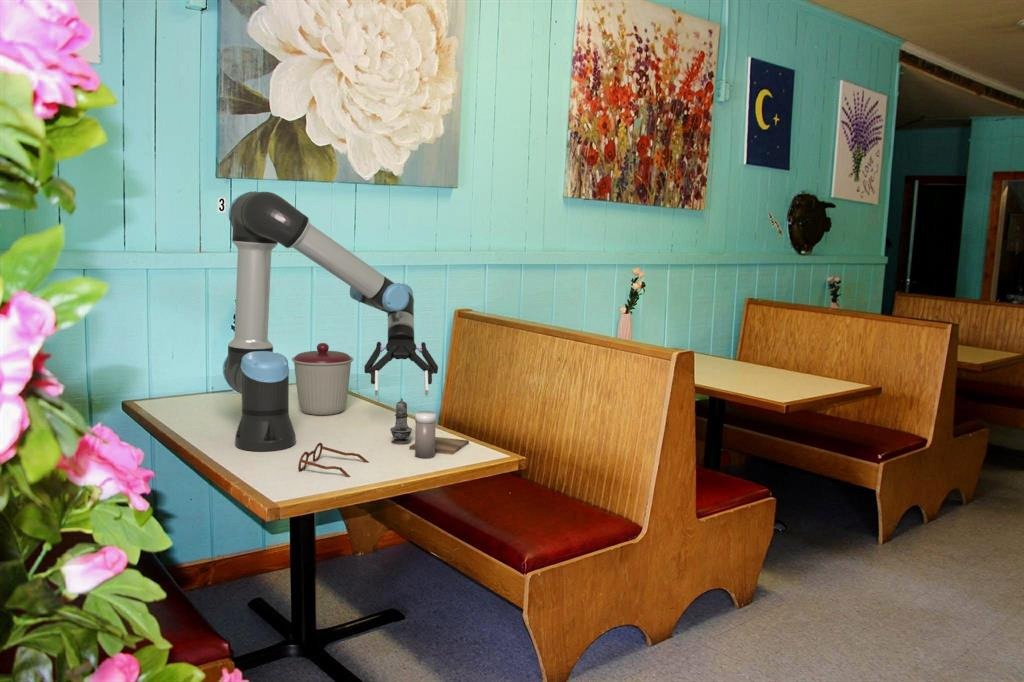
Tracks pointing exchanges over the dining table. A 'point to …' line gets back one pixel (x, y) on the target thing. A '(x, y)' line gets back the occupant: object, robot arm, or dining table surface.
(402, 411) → the grey tiered figurine
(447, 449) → the walnut board
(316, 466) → the glasses
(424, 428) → the pepper shaker
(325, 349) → the canister
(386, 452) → the dining table surface
